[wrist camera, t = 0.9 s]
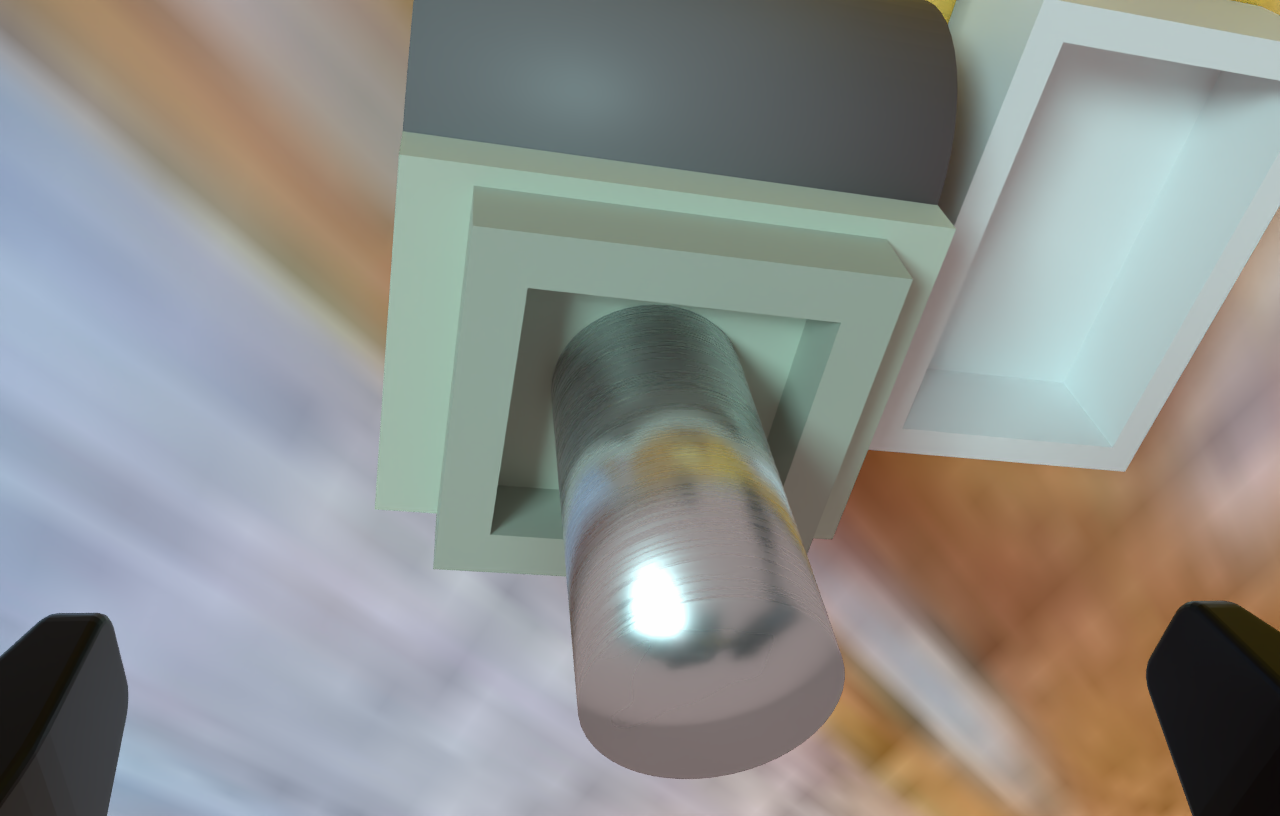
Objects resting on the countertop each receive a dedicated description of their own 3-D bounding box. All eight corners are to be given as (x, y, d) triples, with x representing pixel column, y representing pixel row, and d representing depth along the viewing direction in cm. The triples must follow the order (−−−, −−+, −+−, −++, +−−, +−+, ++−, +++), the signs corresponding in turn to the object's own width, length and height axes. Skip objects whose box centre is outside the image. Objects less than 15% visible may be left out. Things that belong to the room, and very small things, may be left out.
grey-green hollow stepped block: (887, -36, 19) (1055, 107, 13) (762, 364, 24) (849, 592, 18) (430, -121, 17) (405, 1, 12) (397, 327, 22) (367, 565, 17)
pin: (763, 315, 16) (879, 609, 11) (716, 469, 18) (802, 780, 13) (566, 293, 15) (603, 595, 11) (537, 454, 17) (559, 776, 12)
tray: (1261, 6, 20) (1366, 58, 18) (1064, 391, 25) (1124, 471, 23) (974, -50, 19) (1044, -3, 17) (827, 367, 24) (865, 449, 22)
